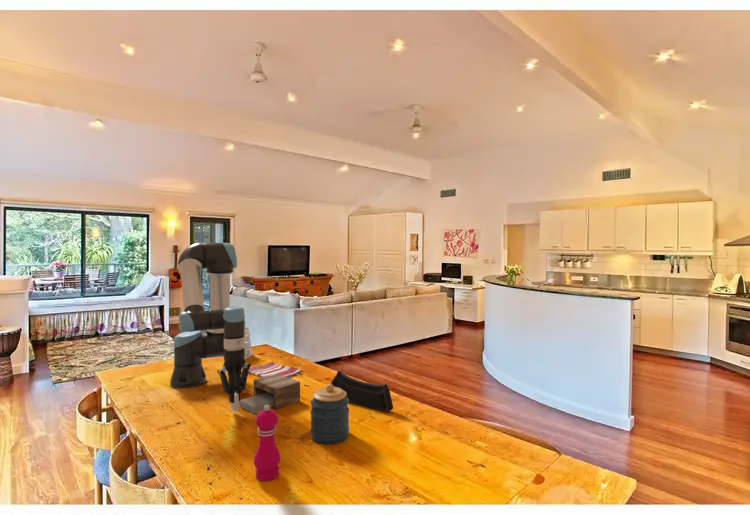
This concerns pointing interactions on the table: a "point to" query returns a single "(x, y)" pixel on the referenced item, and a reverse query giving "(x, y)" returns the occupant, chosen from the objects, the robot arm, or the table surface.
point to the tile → (258, 402)
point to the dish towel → (274, 370)
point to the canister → (329, 415)
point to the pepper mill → (267, 446)
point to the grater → (247, 338)
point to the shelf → (279, 389)
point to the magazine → (364, 392)
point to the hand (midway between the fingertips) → (235, 410)
